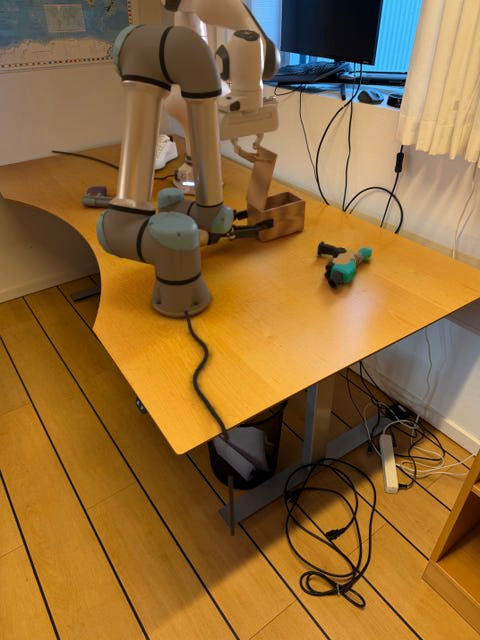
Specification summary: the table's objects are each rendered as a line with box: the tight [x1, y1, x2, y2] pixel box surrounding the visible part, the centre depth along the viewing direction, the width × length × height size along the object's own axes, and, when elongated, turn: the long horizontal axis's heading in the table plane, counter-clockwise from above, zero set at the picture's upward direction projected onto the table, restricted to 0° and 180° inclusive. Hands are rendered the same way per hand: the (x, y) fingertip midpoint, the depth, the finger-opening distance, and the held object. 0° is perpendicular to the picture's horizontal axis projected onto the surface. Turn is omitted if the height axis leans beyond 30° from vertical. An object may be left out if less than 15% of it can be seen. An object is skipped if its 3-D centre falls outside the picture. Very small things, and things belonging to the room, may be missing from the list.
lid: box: [237, 145, 279, 211], centre depth 144 cm, size 17×10×8 cm
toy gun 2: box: [316, 240, 373, 290], centre depth 137 cm, size 4×26×15 cm
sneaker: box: [155, 133, 179, 171], centre depth 214 cm, size 10×29×12 cm, turn 163°
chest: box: [246, 189, 307, 243], centre depth 157 cm, size 16×10×10 cm, turn 120°
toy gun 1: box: [80, 185, 115, 208], centre depth 180 cm, size 4×19×15 cm
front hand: (263, 217), depth 154 cm, fingers closed on chest, 10 cm apart
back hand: (247, 151), depth 139 cm, fingers open, 5 cm apart
